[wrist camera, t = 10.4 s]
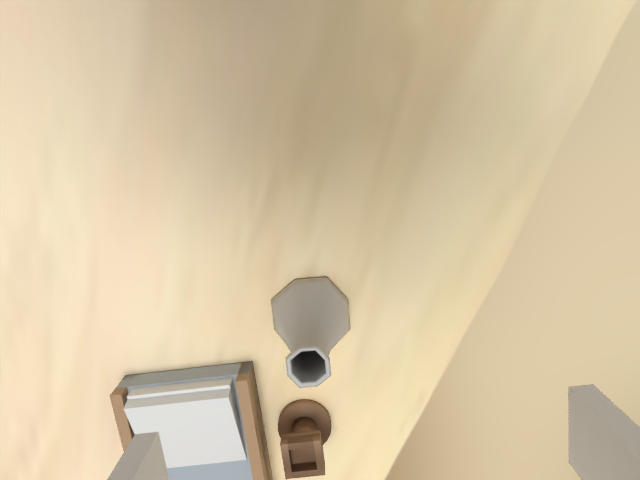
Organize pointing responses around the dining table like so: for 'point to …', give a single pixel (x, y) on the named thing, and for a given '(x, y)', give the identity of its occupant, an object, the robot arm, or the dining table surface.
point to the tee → (303, 438)
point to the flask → (310, 327)
